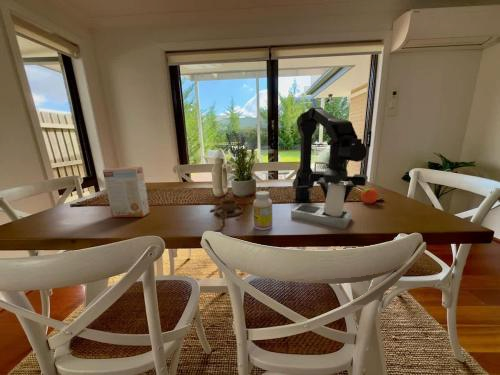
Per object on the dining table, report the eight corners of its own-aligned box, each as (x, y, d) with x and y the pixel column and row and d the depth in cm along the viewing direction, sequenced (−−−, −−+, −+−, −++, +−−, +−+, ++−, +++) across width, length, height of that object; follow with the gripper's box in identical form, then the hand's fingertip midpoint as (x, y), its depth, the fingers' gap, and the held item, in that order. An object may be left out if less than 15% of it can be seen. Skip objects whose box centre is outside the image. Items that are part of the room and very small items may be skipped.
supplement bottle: (253, 223, 81) (252, 190, 78) (270, 222, 82) (270, 189, 79) (255, 231, 75) (254, 195, 72) (274, 230, 76) (273, 194, 72)
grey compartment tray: (291, 217, 86) (291, 210, 85) (301, 209, 94) (301, 203, 93) (344, 229, 74) (345, 220, 74) (351, 218, 83) (351, 211, 82)
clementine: (369, 207, 94) (370, 191, 92) (355, 202, 100) (356, 188, 98) (380, 203, 98) (382, 188, 96) (366, 199, 104) (367, 185, 102)
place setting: (254, 211, 95) (253, 199, 94) (225, 229, 79) (224, 214, 77) (222, 205, 104) (222, 194, 103) (191, 220, 88) (190, 206, 86)
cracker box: (150, 212, 98) (143, 166, 92) (143, 217, 92) (135, 168, 87) (120, 212, 99) (111, 167, 93) (111, 217, 93) (101, 169, 88)
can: (342, 218, 78) (350, 186, 74) (324, 215, 79) (330, 184, 75) (340, 211, 84) (346, 181, 80) (322, 208, 85) (328, 179, 81)
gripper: (303, 160, 75) (302, 203, 78) (364, 162, 64) (360, 212, 68) (314, 156, 83) (313, 195, 87) (369, 158, 73) (365, 202, 77)
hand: (335, 201), depth 79 cm, fingers open, 6 cm apart
